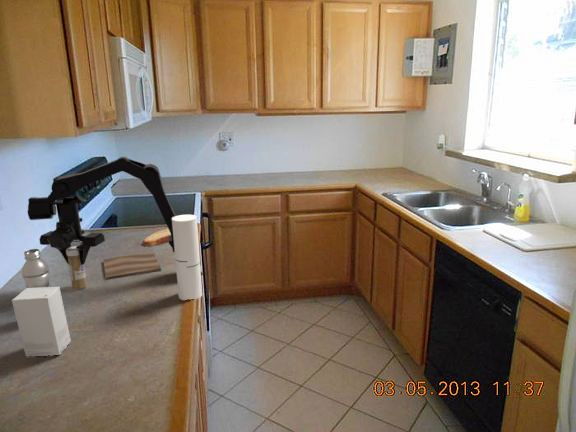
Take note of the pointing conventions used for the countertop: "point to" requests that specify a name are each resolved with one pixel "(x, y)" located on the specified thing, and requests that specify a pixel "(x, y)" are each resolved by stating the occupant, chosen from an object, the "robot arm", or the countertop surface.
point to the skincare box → (41, 321)
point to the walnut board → (130, 265)
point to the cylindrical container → (187, 256)
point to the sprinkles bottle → (76, 268)
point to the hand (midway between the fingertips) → (76, 264)
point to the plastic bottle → (35, 270)
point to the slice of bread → (157, 238)
